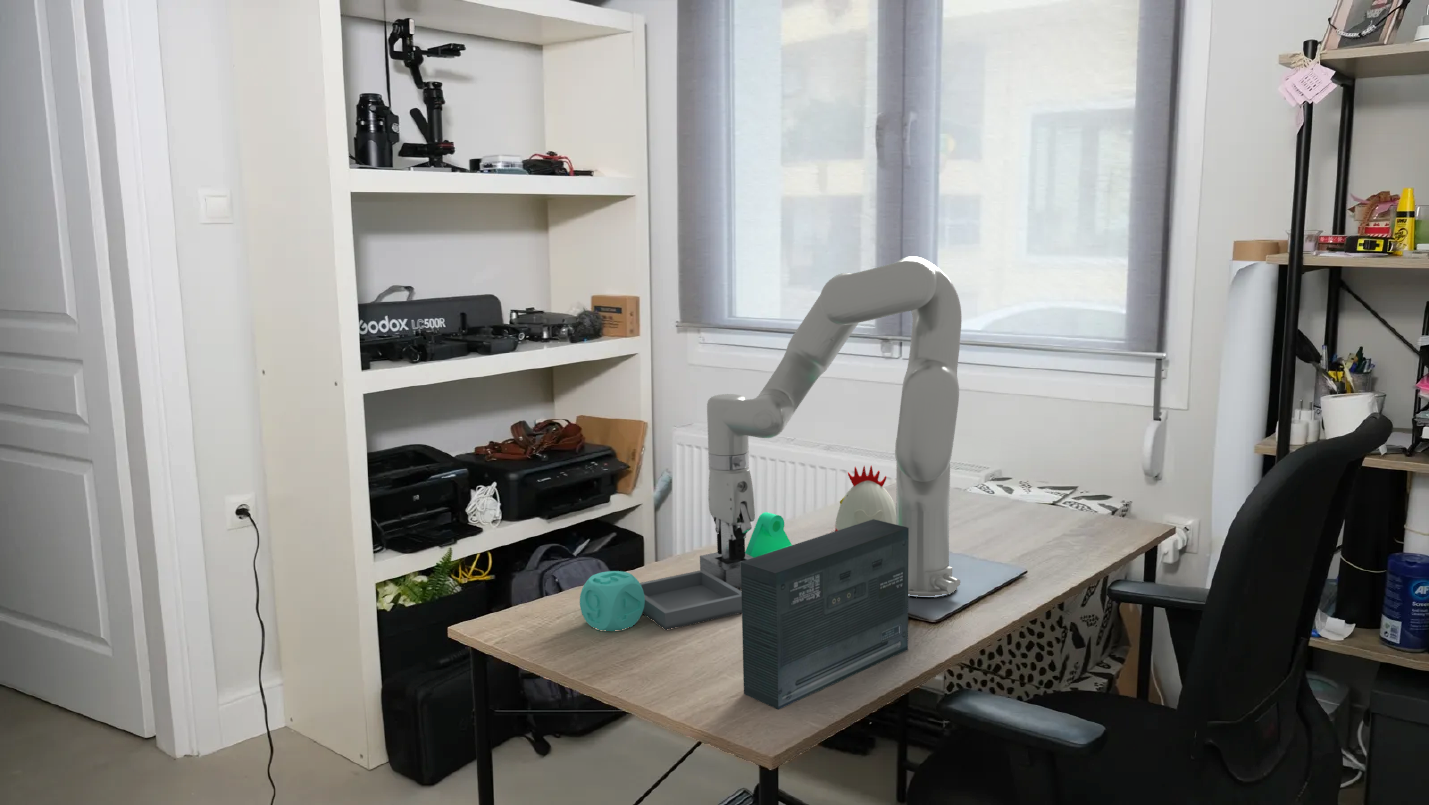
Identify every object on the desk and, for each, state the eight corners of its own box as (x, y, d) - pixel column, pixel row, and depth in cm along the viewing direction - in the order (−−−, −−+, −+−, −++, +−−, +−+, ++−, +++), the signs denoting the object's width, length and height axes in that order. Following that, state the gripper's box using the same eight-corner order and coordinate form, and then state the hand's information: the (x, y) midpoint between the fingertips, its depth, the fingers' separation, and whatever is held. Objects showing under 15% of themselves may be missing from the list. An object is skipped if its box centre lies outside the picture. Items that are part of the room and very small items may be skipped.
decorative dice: (646, 621, 183) (644, 576, 182) (612, 636, 177) (610, 589, 176) (613, 611, 189) (611, 567, 187) (579, 625, 183) (577, 580, 181)
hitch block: (763, 582, 201) (763, 562, 200) (726, 590, 197) (725, 570, 196) (736, 568, 210) (735, 548, 209) (700, 575, 206) (699, 555, 205)
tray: (747, 611, 187) (747, 594, 186) (665, 630, 179) (665, 613, 178) (703, 585, 200) (703, 569, 200) (625, 601, 193) (625, 586, 192)
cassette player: (873, 638, 174) (873, 519, 170) (907, 650, 169) (908, 527, 165) (743, 694, 155) (740, 561, 151) (778, 710, 150) (776, 573, 146)
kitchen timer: (834, 524, 237) (834, 458, 235) (897, 525, 236) (898, 458, 233) (835, 543, 224) (835, 473, 221) (902, 544, 222) (903, 473, 220)
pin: (744, 580, 203) (743, 512, 200) (728, 583, 201) (726, 515, 199) (735, 574, 206) (733, 508, 203) (718, 578, 204) (717, 511, 202)
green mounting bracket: (771, 578, 204) (770, 526, 202) (743, 569, 209) (742, 518, 208) (814, 563, 212) (813, 513, 210) (786, 555, 217) (785, 506, 215)
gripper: (769, 466, 194) (771, 564, 197) (724, 450, 208) (726, 541, 211) (733, 472, 190) (736, 571, 194) (690, 455, 205) (693, 548, 208)
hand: (731, 554), depth 202 cm, fingers closed on pin, 3 cm apart
